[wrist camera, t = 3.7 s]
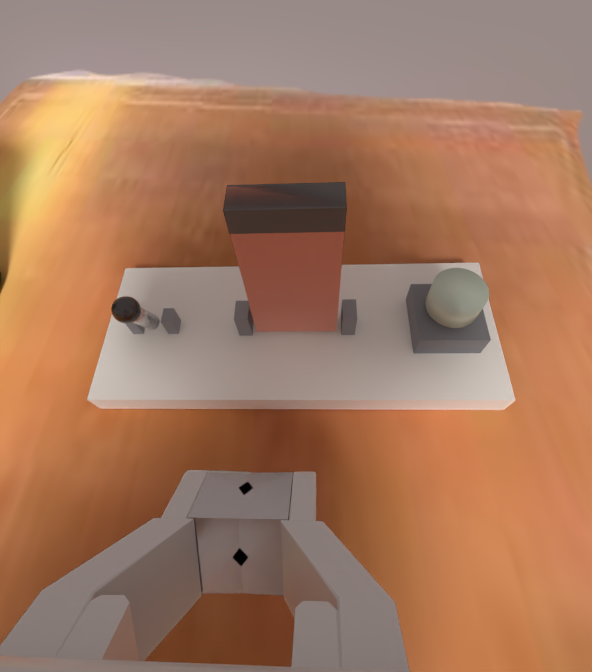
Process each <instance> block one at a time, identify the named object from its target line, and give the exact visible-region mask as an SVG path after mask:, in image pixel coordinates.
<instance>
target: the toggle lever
mask: <svg viewBox="0 0 592 672" xmlns="http://www.w3.org/2000/svg"><path fill="white" fill-rule="evenodd" d="M111 311H112V315H113V317H114V318H115V319H116V320H117V321H119V322H121V323H126V324H128V323H132V322H133V323H135V324H137V325H140V326H142V327H144V328H147V329H149V330H154V329H156V328H157V327H158V326H159V324H160V319H159V317H158V316H156V315H155V314H153V313H151V312H149V311H147V310H145V309H143V308H141V306H140V304H139V303H138V301H137V300H136V299H134V298H132V297H129V296H123V297H120V298H118V299H116V300H115V301H114V303H113V304H112V308H111Z"/></svg>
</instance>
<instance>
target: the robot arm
mask: <svg viewBox="0 0 592 672" xmlns="http://www.w3.org/2000/svg"><path fill="white" fill-rule="evenodd" d="M201 593H245V594H261V595H278V596H284V600H285V602H286V604H287V606H288V608H289V610H290V612H291V614H292V616H293V618H294V620H295V623H294V637H293V651H292V665H291V667H284V666H260V665H234V664H209V663H183V662H157V661H145V660H146V659H147V657H148V656H149V655H150V654H151V653H152V652H153V651H154V649H155V648H156V647H157V646H158V645H159V644H160V643H161V642H162V640H163V639H164V638H165V637H166V636H167V635H168V634H169V633H170V631H171V630H172V629H173V628H174V627H175V626H176V625H177V623H178V622H179V621H180V620H181V619H182V618H183V617H184V616H185V614H186V613H187V612H188V611H189V610H190V609H191V608H192V607H193V605H194V604H195V603H196V602H197V601H198V600H199V599H200V597H201V596H202V594H201ZM0 672H410V671H409V666H408V662H407V657H406V652H405V647H404V643H403V638H402V633H401V628H400V624H399V619H398V614H397V609H396V605H395V602H394V600H393V599H392V598H391V597H390V596H389V595H388V594H387V593H386V591H385V590H384V589H383V588H382V587H381V586H380V585H379V584H378V583H377V581H376V580H375V579H374V578H373V577H372V576H371V575H370V574H369V572H368V571H367V570H366V569H365V568H364V567H363V566H362V565H361V563H360V562H359V561H358V560H357V559H356V558H355V557H354V556H353V555H352V553H351V552H350V551H349V550H348V549H347V548H346V547H345V546H344V544H343V543H342V542H341V541H340V540H339V539H338V538H337V537H336V535H335V534H334V533H333V532H332V531H331V530H330V529H329V528H328V527H327V525H326V524H325V523H324V522H323V521H316V473H315V471H309V472H294V473H293V472H243V471H215V470H210V471H208V470H188V471H187V472H185V473H184V475H183V477H182V479H181V481H180V483H179V485H178V486H177V488H176V490H175V492H174V494H173V496H172V498H171V499H170V501H169V503H168V505H167V507H166V509H165V511H164V513H163V514H162V516H161V518H153V519H151V520H150V521H148V522H147V523H145V524H144V525H142V526H141V527H139V528H138V529H136V530H134V531H133V532H131V533H130V534H128V535H127V536H125V537H124V538H122V539H120V540H119V541H117V542H116V543H114V544H113V545H111V546H110V547H108V548H107V549H105V550H103V551H102V552H100V553H99V554H97V555H96V556H94V557H93V558H91V559H90V560H88V561H86V562H85V563H83V564H82V565H80V566H79V567H77V568H76V569H74V570H73V571H71V572H69V573H68V574H66V575H65V576H63V577H62V578H60V579H59V580H57V581H56V582H54V583H52V584H51V585H49V586H48V587H46V588H45V589H43V590H42V591H41V592H40V593H39V595H38V596H37V597H36V599H35V600H34V601H33V603H32V604H31V605H30V607H29V608H28V609H27V611H26V612H25V613H24V615H23V616H22V617H21V619H20V620H19V621H18V622H17V624H16V625H15V626H14V628H13V629H12V630H11V632H10V633H9V634H8V636H7V637H6V638H5V640H4V641H3V642H2V644H1V645H0Z"/></svg>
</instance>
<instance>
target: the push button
mask: <svg viewBox="0 0 592 672" xmlns="http://www.w3.org/2000/svg"><path fill="white" fill-rule="evenodd" d="M488 298H489V289H488V286H487V284H486V282H485V281H484V280H483V279H482V278H481V277H480V276H479V275H478V274H476V273H475V272H473V271H470V270H468V269H464V268H449V269H445V270H443V271H441V272H440V273H439V274H437V276H436V277H435V278H434V281H433V283H432V285H431V288H430V290H429V293H428V295H427V297H426V301H425V306H426V310H427V312H428V314H429V315H430V317H431V318H432V319H433V320H434V321H436V322H437V323H439V324H441V325H443V326H445V327H449V328H462V327H466V326H468V325H470V324H471V323H473V322H474V320H475V319H476V318H477V316H478V315H479V313H480V312H481V310H482V309H483V307H484V306H485V304H486V303H487V301H488Z"/></svg>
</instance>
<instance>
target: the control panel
mask: <svg viewBox="0 0 592 672" xmlns="http://www.w3.org/2000/svg"><path fill="white" fill-rule="evenodd" d="M449 268H464V269H468V270H470V271H473V272H475V273H476V274H478V275H479V276H480V277H481V278H482V279H483V277H482V273H481V269H480V265H479V263H425V264H361V265H342V268H341V280H340V293H339V305H338V317H337V329H336V331H271V332H257V331H256V328H255V324H254V320H253V317H252V313H251V309H250V306H249V302H248V298H247V295H246V291H245V287H244V283H243V280H242V276H241V272H240V269H239V266H235V267H171V268H126V269H125V272H124V276H123V279H122V282H121V286H120V289H119V293H118V296H117V299H118V298H120V297H123V296H129V297H132V298H134V299H136V300H137V301H138V303H139V304H140V306H141V308H143V309H145V310H147V311H149V312H151V313H153V314H155V315H156V316H158V317H159V319H160V324H159V326H158V327H157V328H156V329H154V330H149V329H147V328H144V327H142V326H140V325H137V324H135V323H133V322H132V323H128V324H126V323H121V322H119V321H117V320H116V319H115V318H114V317H113V315H112V316H111V320H110V323H109V327H108V330H107V333H106V337H105V340H104V344H103V347H102V350H101V354H100V357H99V361H98V364H97V367H96V371H95V374H94V378H93V381H92V384H91V388H90V391H89V395H88V398H87V400H88V401H90V402H91V403H93V404H94V405H96V406H97V407H99V408H100V409H353V410H504V409H505V408H507V407H508V406H509V405H510V404H512V403H513V402H514V401H515V397H514V393H513V389H512V385H511V382H510V378H509V374H508V370H507V367H506V363H505V359H504V355H503V352H502V348H501V344H500V340H499V337H498V333H497V329H496V325H495V322H494V318H493V314H492V310H491V307H490V303H489V299H488V301H487V303H486V304H485V306H484V307H483V309H482V310H481V312H480V313H479V315H478V316H477V318H476V319H475V320H474V322H473V323H471V324H470V325H468V326H466V327H462V328H449V327H445V326H443V325H441V324H439V323H437V322H436V321H434V320H433V319H432V318H431V317H430V315H429V314H428V312H427V310H426V306H425V301H426V297H427V295H428V293H429V290H430V288H431V285H432V283H433V281H434V278H435V277H436V276H437V274H439V273H440V272H441V271H443V270H445V269H449Z"/></svg>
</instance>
